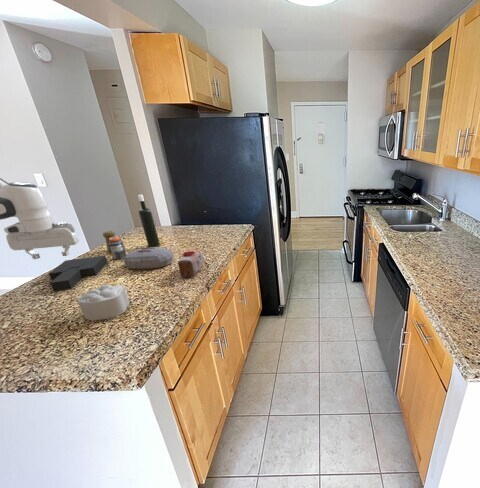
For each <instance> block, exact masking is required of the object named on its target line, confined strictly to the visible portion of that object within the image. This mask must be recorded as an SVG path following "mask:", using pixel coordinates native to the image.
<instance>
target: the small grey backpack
mask: <svg viewBox="0 0 480 488" xmlns="http://www.w3.org/2000/svg"><path fill="white" fill-rule="evenodd" d="M173 260H174V253H173V251H171V249H169V248H165V247H160V246H159V247H158V246H156V247H141V248H139V249H134V250H132V251H131V252H129V253H127V255H126V257H125V258H123V263H124V266H125V267H126V268H127V269H129V270H130V269H131V270H152V269H159V268H162V267H165V266H168V265H170V264H172V262H173Z"/></svg>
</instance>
